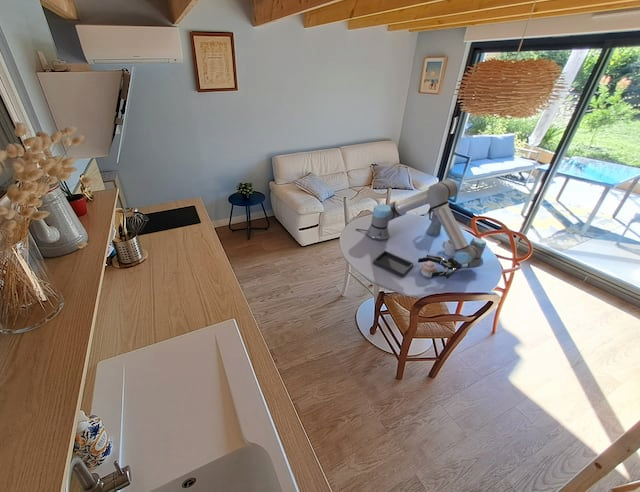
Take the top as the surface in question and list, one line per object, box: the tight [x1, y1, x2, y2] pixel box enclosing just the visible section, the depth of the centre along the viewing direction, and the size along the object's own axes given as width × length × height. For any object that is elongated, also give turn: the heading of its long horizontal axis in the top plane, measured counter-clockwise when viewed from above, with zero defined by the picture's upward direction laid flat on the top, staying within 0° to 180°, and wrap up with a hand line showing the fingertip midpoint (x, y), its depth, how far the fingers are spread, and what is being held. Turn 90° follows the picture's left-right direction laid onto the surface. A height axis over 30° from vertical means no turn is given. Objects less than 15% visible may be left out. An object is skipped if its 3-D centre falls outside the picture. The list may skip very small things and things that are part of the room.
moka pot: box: [426, 208, 443, 237], centre depth 210 cm, size 10×15×20 cm, turn 27°
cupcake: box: [420, 261, 439, 279], centre depth 171 cm, size 9×9×10 cm
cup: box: [441, 239, 456, 258], centre depth 190 cm, size 7×10×9 cm
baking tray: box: [372, 250, 414, 278], centre depth 181 cm, size 20×15×3 cm
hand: (425, 267), depth 170 cm, fingers open, 13 cm apart
